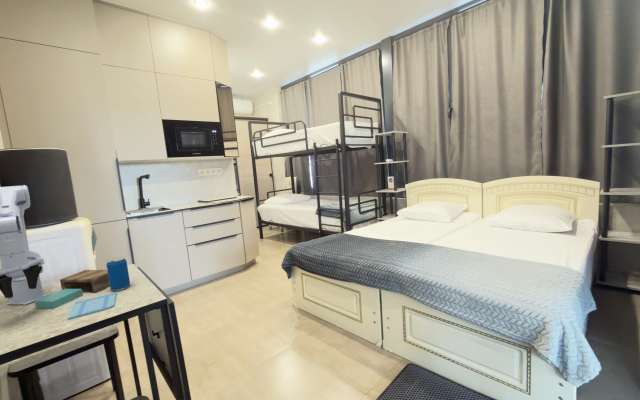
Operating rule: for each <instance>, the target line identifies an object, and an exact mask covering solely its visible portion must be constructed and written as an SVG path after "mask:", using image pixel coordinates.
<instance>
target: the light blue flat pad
mask: <svg viewBox="0 0 640 400" xmlns="http://www.w3.org/2000/svg"><path fill="white" fill-rule="evenodd" d="M116 299H117V292H113V293H108V294H104V295H100V296H95V297H92V298H87V299H84V300H80V301H76V302H74V304H73V306H72V308H71V310H70V312H69V314H68V316H67V321H70V320H71V321H72V320H74V319H77V318H82V317H86V316H89V315H93V314H96V313H99V312H103V311H107V310H109V309H110V310H111V309H112V308H115V306H116Z"/></svg>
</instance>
